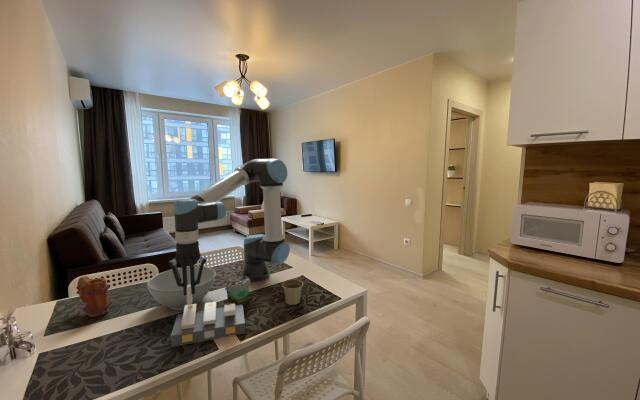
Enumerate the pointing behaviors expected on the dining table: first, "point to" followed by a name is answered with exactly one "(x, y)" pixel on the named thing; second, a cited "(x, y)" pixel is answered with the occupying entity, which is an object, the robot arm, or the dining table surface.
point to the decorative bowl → (171, 294)
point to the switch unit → (208, 327)
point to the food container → (238, 292)
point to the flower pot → (292, 291)
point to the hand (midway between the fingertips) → (189, 302)
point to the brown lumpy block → (94, 295)
